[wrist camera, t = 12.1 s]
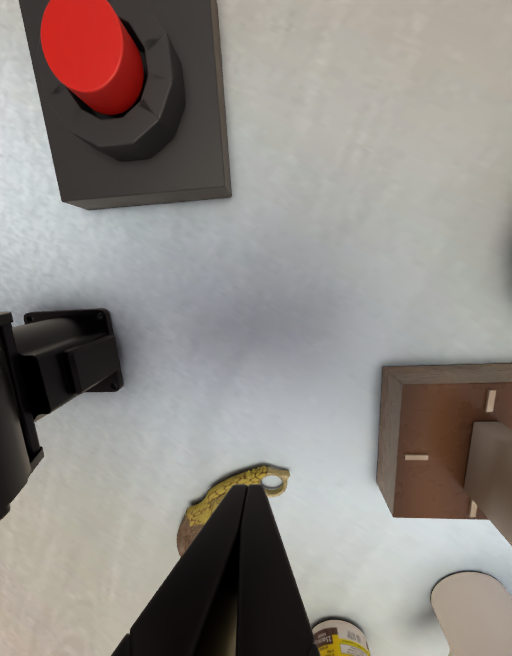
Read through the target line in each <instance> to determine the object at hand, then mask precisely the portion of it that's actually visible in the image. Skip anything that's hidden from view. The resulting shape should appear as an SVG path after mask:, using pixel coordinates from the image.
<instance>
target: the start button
mask: <svg viewBox="0 0 512 656" xmlns="http://www.w3.org/2000/svg"><path fill="white" fill-rule="evenodd" d="M41 44H42V49H43V53H44V56H45V58H46V61H47V63H48V65H49V67H50V69H51V70H52V72H53V73H54V75H55V76H56V77H57V78H58V79H59V80H60V82H62V83H63V84H64V85H65V86H66V87H67V88H68V89H70V90H71V91H72V92H73V93H74V94H75V95H76V96H78V97H79V98H80V99H81V100H82V101H83V102H84V103H86V104H87V105H88V106H89V107H90V108H92V109H93V110H95V111H97V112H99V113H101V114H105V115H117V114H121V113H123V112H125V111H127V110H128V109H129V108H131V107H132V106H133V104H134V103H135V102H136V100H137V99H138V97H139V95H140V92H141V90H142V86H143V79H144V71H143V63H142V59H141V55H140V53H139V50H138V48H137V46H136V45H135V43H134V41H133V40H132V38H131V36H130V35H129V33H128V32H127V30H126V28H125V27H124V25H123V24H122V22H121V20H120V19H119V17H118V16H117V14H116V12H115V11H114V9H113V8H112V6H111V5H110V4H109V2H108V1H107V0H50V2H49V3H48V5H47V7H46V9H45V11H44V14H43V18H42V23H41Z"/></svg>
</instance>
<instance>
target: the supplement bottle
mask: <svg viewBox="0 0 512 656" xmlns="http://www.w3.org/2000/svg"><path fill="white" fill-rule="evenodd" d="M312 632H313V635H314V638H315V644H317V646H318V649H319V652H320V655H321V656H370V652H369V648H368V644H367V641H366V638H365V636H364V635H363V633H362V632H361V631H360V630H359V629H358V628H357V627H356V626H354V625H352V624H350V623H348V622H345V621H341V620H328V621H324V622H322V623H320V624H318V625H316V626H315V627H314V628H313V630H312Z"/></svg>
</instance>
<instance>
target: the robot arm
mask: <svg viewBox="0 0 512 656" xmlns="http://www.w3.org/2000/svg"><path fill="white" fill-rule="evenodd" d="M100 313H101V314H102V315H103V318H101V317H100ZM32 318H33V320H32ZM12 322H13V318H12V314H11V312H0V520H1V519H3V518H4V517H5V516H6V514H7V513H8V512H9V511H10V503H11V502H12V501H13V499H14V498H15V497H16V496H17V494H18V493H19V492H20V491H21V490H22V488H23V487H24V486H25V485H26V483H27V481H28V478H29V476H30V474H31V473H32V472H33V470H34V469H35V468H36V466H37V465H38V464H39V462H40V461H41V460H42V458H43V457H44V452H43V448H42V447H40V445H39V440H38V436H37V432H36V428H35V423H34V422H36V421H37V420H39V419H41V418H42V417H44V416H45V415H47V414H50V413H51V412H53V411H54V410H56V409H57V408H59V407H60V406H62V405H64V404H65V403H67V402H68V401H70V400H71V399H73V398H75V397H76V396H78V395H80V394H82V393H84V392H116V391H118V390H119V389H121V388H122V386H123V382H122V377H121V372H120V364H119V358H118V353H117V348H116V343H115V338H114V336H113V330H112V325H111V320H110V315H109V312H108V311H107V310H106V309H102V308H100V309H81V310H61V311H42V312H30V313H26V314H25V315H24V322H25V325H21V326H16V327H12V325H11V323H12ZM114 383H115V384H116V385H117V386H115V385H114ZM111 656H321V655H320V652H319V649H318V646H317V644H315V638H314V635H313V632H312V629H311V626H310V623H309V620H308V617H307V614H306V611H305V608H304V605H303V602H302V599H301V596H300V593H299V590H298V587H297V584H296V581H295V578H294V575H293V572H292V569H291V566H290V563H289V560H288V557H287V554H286V551H285V548H284V545H283V542H282V539H281V536H280V533H279V530H278V527H277V524H276V521H275V518H274V515H273V512H272V509H271V507H270V504H269V501H268V498H267V495H266V492H265V489H264V486H263V485H262V484H250V485H249V486H248V485H246V484H234V485H233V486H232V487H231V488H230V489H229V491H228V492H227V494H226V495H225V496H224V498H223V499H222V501H221V502H220V503H219V505H218V506H217V508H216V509H215V510H214V512H213V513H212V515H211V516H210V517H209V519H208V520H207V522H206V523H205V524H204V526H203V527H202V529H201V530H200V532H199V533H198V534H197V536H196V537H195V539H194V540H193V541H192V543H191V544H190V546H189V547H188V548H187V550H186V551H185V553H184V554H183V555H182V557H181V558H180V560H179V561H178V562H177V564H176V565H175V567H174V568H173V569H172V571H171V572H170V574H169V575H168V576H167V578H166V579H165V581H164V582H163V584H162V585H161V586H160V588H159V589H158V591H157V592H156V593H155V595H154V596H153V598H152V599H151V600H150V602H149V603H148V605H147V606H146V607H145V609H144V610H143V612H142V613H141V614H140V616H139V617H138V619H137V620H136V621H135V623H134V624H133V626H132V627H131V629H130V634H129V633H128V634H126V635H125V637H124V638H123V639H122V641H121V642H120V644H119V645H118V646H117V648H116V649H115V651H114V652H113V654H112V655H111Z"/></svg>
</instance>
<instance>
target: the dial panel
mask: <svg viewBox="0 0 512 656" xmlns="http://www.w3.org/2000/svg"><path fill="white" fill-rule="evenodd" d="M474 422H501V423H503V424H504V425H506V426H507V427H508V428H510V429H511V430H512V363H502V364H465V365H429V366H393V367H383V374H382V392H381V411H380V429H379V448H378V466H377V484H378V486H379V489H380V491H381V493H382V495H383V497H384V499H385V501H386V503H387V505H388V508H389V510H390V512H391V514H392V516H393V517H396V518H440V519H484V520H489V519H488V518H487V516H486V515H485V514H484V513H483V512H482V511H481V509H480V508H479V507H478V506H477V505H476V503H475V502H474V501H473V500H472V499H471V498H470V496H469V495H468V494H467V493H466V492H465V491H464V483H465V477H466V470H467V464H468V457H469V451H470V444H471V438H472V431H473V424H474Z"/></svg>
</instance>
